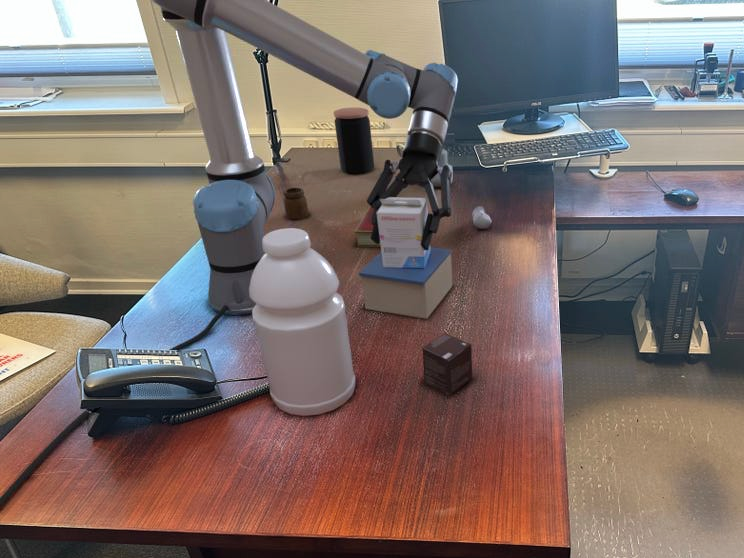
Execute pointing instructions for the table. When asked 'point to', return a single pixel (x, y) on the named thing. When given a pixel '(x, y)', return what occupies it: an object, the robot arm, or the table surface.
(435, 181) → the air freshener
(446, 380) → the box
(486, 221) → the white bust figurine
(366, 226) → the hardcover book
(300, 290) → the bottle
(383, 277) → the storage box lid
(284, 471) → the table surface
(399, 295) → the storage box
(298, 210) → the utensil holder
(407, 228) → the ink box
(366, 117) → the coffee jar
